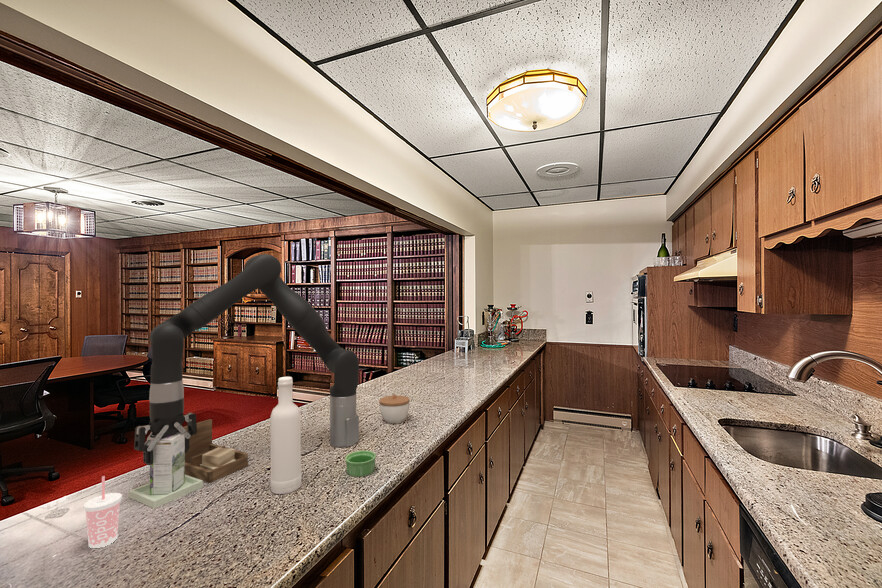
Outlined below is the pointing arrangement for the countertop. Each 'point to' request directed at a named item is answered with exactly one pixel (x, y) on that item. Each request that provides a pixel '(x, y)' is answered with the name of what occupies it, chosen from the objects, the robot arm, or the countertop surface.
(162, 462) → the syrup box
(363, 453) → the ramekin
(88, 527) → the beverage cup
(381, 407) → the white lidded bowl
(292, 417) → the bottle
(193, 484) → the tray
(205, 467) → the offcut low
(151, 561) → the countertop surface
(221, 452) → the offcut top
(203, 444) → the open box
